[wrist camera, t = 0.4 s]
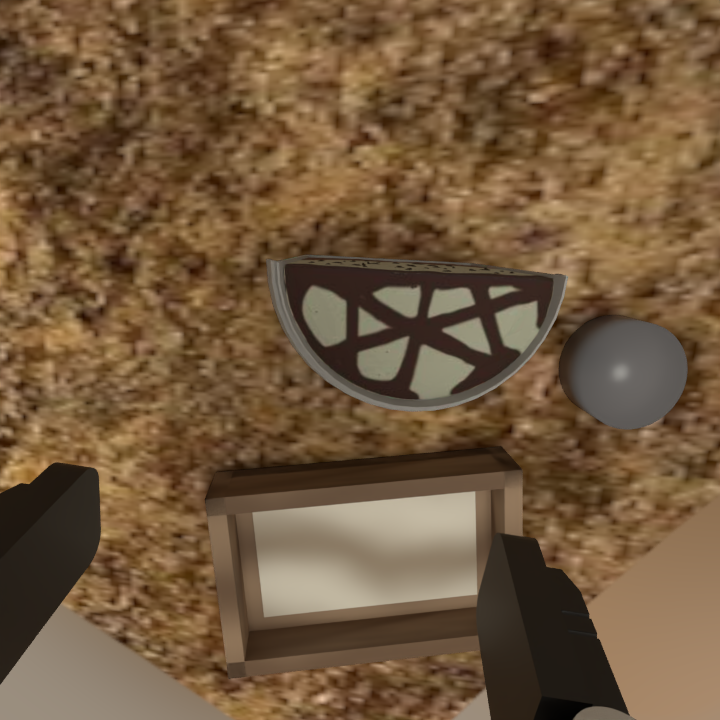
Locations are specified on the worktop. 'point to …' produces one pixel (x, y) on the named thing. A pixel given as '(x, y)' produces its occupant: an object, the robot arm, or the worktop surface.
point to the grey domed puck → (623, 371)
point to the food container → (412, 325)
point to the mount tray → (356, 557)
